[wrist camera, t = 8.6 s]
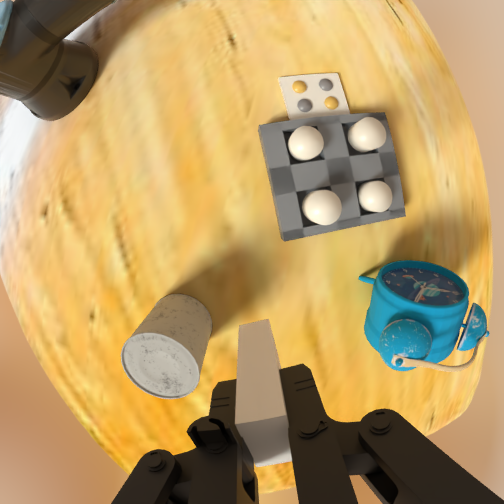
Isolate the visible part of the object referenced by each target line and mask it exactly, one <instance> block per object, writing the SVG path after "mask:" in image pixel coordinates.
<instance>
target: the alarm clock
mask: <svg viewBox="0 0 504 504" xmlns="http://www.w3.org/2000/svg"><path fill="white" fill-rule="evenodd" d="M359 280H361V281H363V282H367V283H370V284H374V285H373V291H372V297H371V303H370V307H369V308H368V310H367V315H366V320H365V325H364V330H365V335H366V337H367V340H368V341H369V342H370V344H371V345H372V346H373V347H374V348H375V349H376V350H377V351H378V352H379V353H380V355H381V357H382V359H383V361H384V362H385V363H386V364H387V365H388V366H389V367H390V368H392V369H394V370H398V371H408V370H412V369H414V368H416V367H427V368H432V369H436V370H440V371H447V372H455V371H461V370H464V369H465V368H467V367H468V366H470V365H471V363H472V362H473V361H474V359H475V356H476V353H477V349H478V346H479V344H480V343H481V342H482V341H483V340H484V338H485V337H488V335H489V332H488V331H487V320H486V315H485V313H484V311H483V309H482V308H481V307H480V306H479V305H478V304H476V303H473V305H472V307H471V310H470V312H469V315H468V318H467V321H466V324H463V320H464V317H465V314H466V311H467V308H468V305H469V301H468V296H469V290H468V287H467V285H466V283H465V282H464V281H463V279H461V278H460V277H459V276H458V275H457V274H455V273H454V272H452V271H450V270H448V269H446V268H444V267H441V266H439V265H436V264H432V263H428V262H423V261H413V260H405V261H396V262H392V263H389V264H387V265H385V266H384V267H382V268H381V269H380V271H379V273H378V276H377V277H376V279H374V278H370V277H366V276H359ZM461 325H462V326H461ZM461 327H464V329H463V332H462V335H461V338H460V340H459V343H458V346H457V350H460V351H466V350H470V349H472V348H474V347H475V349H474V353H473V356H472V358H471V359H470V360H469V361H468V362H467V363H465V364H463V365H459V366H446V365H441V364H437V363H438V362H440V361H442V360H444V359H445V358H447V357H448V356H449V355H450V354H451V352H452V351H453V349H454V347H455V344H456V342H457V340H458V337H459V332H460V328H461Z"/></svg>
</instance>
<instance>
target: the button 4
mask: <svg viewBox="0 0 504 504" xmlns="http://www.w3.org/2000/svg"><path fill="white" fill-rule="evenodd" d="M356 192H357V198H358V204H359V207H360V208H362V209H363V210H366V211H373V212H384V211H386V210H387V209H388V208H389V207H390V205H391V203H392V192H391V189H390V187H389V186H388V185H387V184H386V183H384V182H382V181H372V182H364V183H362V184H360V185H359V186H358V188H357V190H356Z"/></svg>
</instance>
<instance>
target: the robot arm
mask: <svg viewBox="0 0 504 504" xmlns="http://www.w3.org/2000/svg"><path fill="white" fill-rule="evenodd" d="M116 1H117V0H15V1H14V2H13V1H11V0H4V1H2V2H0V95H3V96H7V97H10V98H13V99H16V100H19V101H21V102H22V103H23V104H24V105H25V106H26V107H27V108H28V109H30V111H31V112H32V114H33V115H35V116H36V117H38V118H40V119H43V120H47V121H54V120H58V119H60V118H62V117H64V116H66V115H67V114H69V113H70V112H71V111H72V110H74V109H75V108H76V107H77V106H78V105H79V104H80V102H81V101H82V100H83V99H84V97H85V96H86V95H87V93H88V92H89V90H90V88H91V86H92V84H93V82H94V80H95V77H96V74H97V70H98V57H97V54H96V52H95V51H94V50H93V49H92V48H91V47H90V46H88V45H87V44H85V43H83V42H74V41H71V40H67V39H64V38H65V37H66V36H68V35H69V34H70V33H71V32H73V31H74V30H75V29H76V28H78V27H79V26H80V25H81V24H83V23H84V22H85V21H87V20H88V19H89V18H91V17H92V16H94V15H95V14H96V13H98V12H99V11H101V10H102V9H104V8H105V7H107V6H108V5H110V4H113V3H115V2H116ZM211 400H212V401H211V405H210V407H211V408H210V412H209V416H205V417H201V418H200V419H198V420H196V421H194V422H193V423H192V424H191V425H190V426H189V428H188V430H187V433H188V435H189V436H190V438H191V439H192V441H193V442H194V444H195V445H196V448H195V449H193V450H190V451H188V452H184V453H181V454H177V455H174V456H173V455H172V454H171V453H170V452H168V451H166V450H161V449H157V450H153V451H150V452H148V453H146V454H145V455H144V456H143V457H142V458H141V459H140V460H139V462H138V463H137V465H136V466H135V468H134V470H133V471H132V473H131V474H130V476H129V478H128V479H127V480H126V482H125V484H124V485H123V486H122V488H121V490H120V491H119V492H118V494H117V496H116V497H115V499H114V500H113V502H112V503H111V504H259V496H258V479H257V476H256V474H255V472H254V463H255V465H256V467H260V466H267V465H273V464H279V463H284V462H289V461H292V463H293V469H294V475H295V481H296V487H297V494H298V500H299V504H358V502H357V498H356V495H355V492H354V489H353V486H352V484H351V480H350V477H349V475H360V476H361V477H362V479H363V480H364V481H365V482H366V484H367V485H368V486H369V487H370V489H371V490H372V491H373V492H374V493H375V494H376V496H377V497H378V498H379V499H380V501H381V502H382V503H383V504H504V500H502V499H501V498H500V497H498V496H497V495H496V494H495V493H493V492H492V491H491V490H490V489H488V488H487V487H486V486H484V485H483V484H482V483H481V482H480V481H478V480H477V479H476V478H474V477H473V476H472V475H471V474H469V473H468V472H467V471H466V470H465V469H464V468H462V467H461V466H460V465H459V464H457V463H456V462H455V461H454V460H452V459H451V458H450V457H449V456H448V455H447V454H445V453H444V452H443V451H442V450H441V449H439V448H438V447H437V446H436V445H435V444H433V443H432V442H431V441H430V440H429V439H427V438H426V437H425V436H424V435H423V434H422V433H421V432H419V431H418V430H417V429H416V428H415V427H414V426H412V425H411V424H410V423H409V422H408V421H407V420H405V419H404V418H403V417H402V416H401V415H400V414H399V413H397V412H395V411H393V410H390V409H378V410H374V411H372V412H370V413H368V414H367V415H365V416H364V417H363V418H362V420H361V421H360V422H338V421H335V420H333V419H331V418H330V417H329V416H328V415H327V414H326V412H325V410H324V407H323V404H322V401H321V398H320V395H319V392H318V390H317V387H316V384H315V381H314V378H313V375H312V372H311V370H310V369H309V368H308V367H307V366H305V365H304V364H299V365H295V366H291V367H287V368H283V369H281V366H280V361H279V357H278V353H277V349H276V346H275V342H274V338H273V334H272V330H271V326H270V322H269V319H266V320H262V321H257V322H253V323H249V324H244V325H240V326H239V338H238V360H237V379H234V380H228V381H222V382H218V384H217V385H216V387H215V388H214V389H213V392H212V398H211Z"/></svg>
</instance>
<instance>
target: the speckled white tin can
mask: <svg viewBox="0 0 504 504" xmlns="http://www.w3.org/2000/svg"><path fill="white" fill-rule="evenodd" d="M211 332H212V319H211V317H210V314H209V312H208V310H207V309H206V307H205V306H204V305H203V304H202V303H201V302H199V301H198V300H196V299H195V298H193V297H191V296H188V295H184V294H171V295H168V296H165V297H164V298H162V299H160V300H159V301H158V302H157V303H156V305H155V307H154V308H153V309H152V311H151V312H150V313H149V314H148V316H147V317H146V318H145V319H144V320H143V322H142V323H141V324H140V326H139V327H138V328H137V329H136V331H135V332H134V333H133V334H132V336H131V337H130V338H129V339H128V340H127V341H126V342H125V344H124V346H123V347H122V352H121V362H122V365H123V368H124V371H125V372H126V374H127V376H128V377H129V379H130V380H131V381H132V382H133V383H134V384H135V385H136V386H137V387H139V388H140V389H141V390H143V391H145V392H146V393H148V394H150V395H153V396H155V397H159V398H163V399H177V398H181V397H184V396H187V395H188V394H190V393H191V392H193V390H194V389H195V388H196V387H197V385H198V382H199V379H200V372H201V368H202V364H203V360H204V356H205V353H206V349H207V345H208V341H209V337H210V335H211Z"/></svg>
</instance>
